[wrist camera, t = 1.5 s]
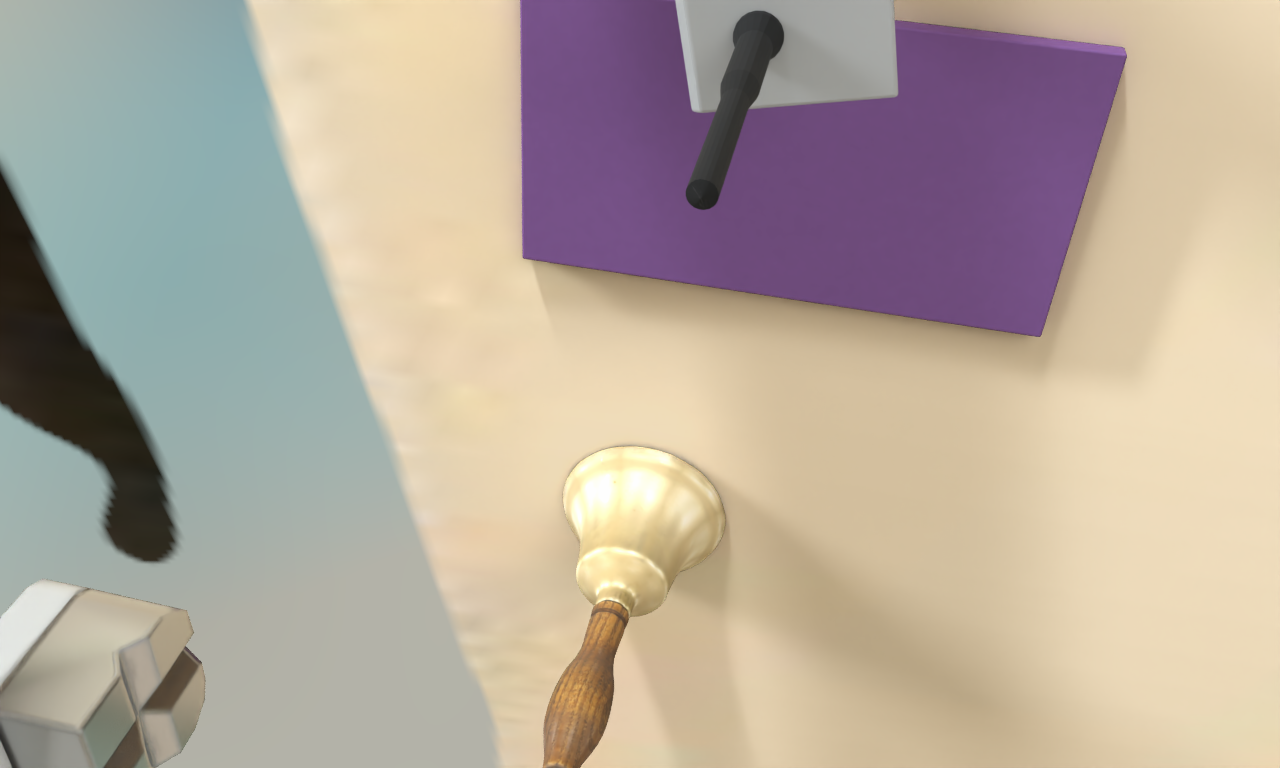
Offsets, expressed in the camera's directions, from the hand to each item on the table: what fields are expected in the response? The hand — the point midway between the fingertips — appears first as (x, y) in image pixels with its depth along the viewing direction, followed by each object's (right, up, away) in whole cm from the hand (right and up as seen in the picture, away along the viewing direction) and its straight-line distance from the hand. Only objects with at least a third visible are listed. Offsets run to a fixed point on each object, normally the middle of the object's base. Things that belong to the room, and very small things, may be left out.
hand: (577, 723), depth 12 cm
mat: (+7, +12, +35) cm, 38 cm away
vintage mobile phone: (+7, +21, +29) cm, 37 cm away
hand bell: (+1, -3, +48) cm, 48 cm away
